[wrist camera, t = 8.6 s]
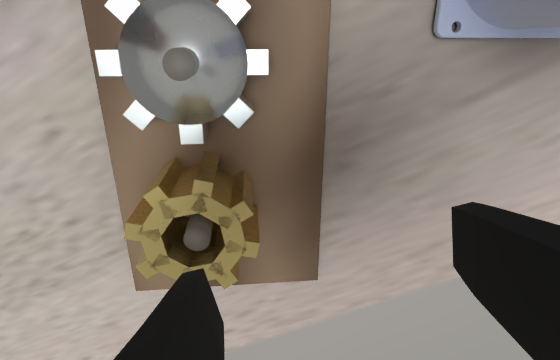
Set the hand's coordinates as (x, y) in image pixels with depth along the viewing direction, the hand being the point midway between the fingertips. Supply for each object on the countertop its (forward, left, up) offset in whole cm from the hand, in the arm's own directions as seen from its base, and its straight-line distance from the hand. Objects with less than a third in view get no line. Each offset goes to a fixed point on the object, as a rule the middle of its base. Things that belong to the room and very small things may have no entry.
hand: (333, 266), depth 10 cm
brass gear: (+5, +2, -9) cm, 11 cm away
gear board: (+4, 0, -10) cm, 11 cm away
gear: (+5, -5, -9) cm, 12 cm away
